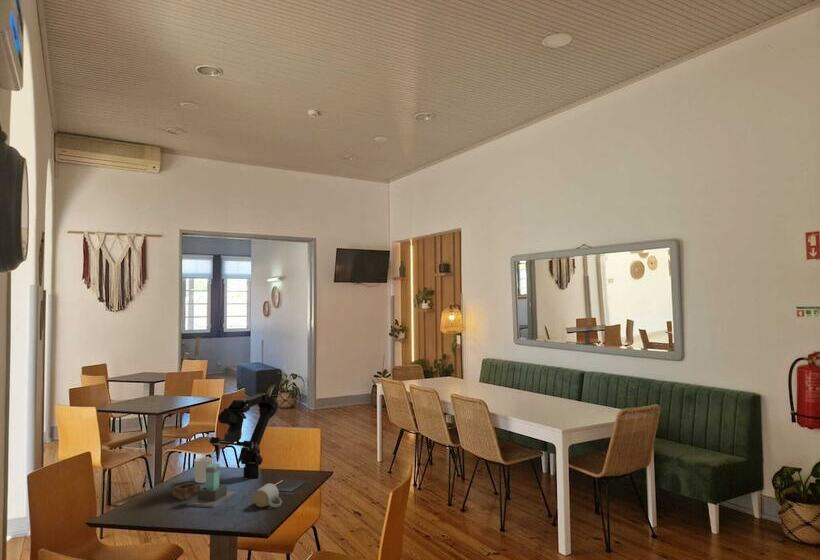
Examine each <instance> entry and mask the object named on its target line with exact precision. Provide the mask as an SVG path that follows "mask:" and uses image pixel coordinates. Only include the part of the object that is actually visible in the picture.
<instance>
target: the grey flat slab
mask: <svg viewBox="0 0 820 560" xmlns="http://www.w3.org/2000/svg"><path fill="white" fill-rule="evenodd" d="M309 482H310V481H309V480H300V479H288V478H287V479H286V478H284V479H281V480H280V481H279V482H277V483H275V484H274V485H275V486H276V487H277V489H278V491H279V494H294V493H293V492H294V491H296V490H297V489H299V488H300V487H302V486H303V485H305V484H307V483H309ZM294 495H295V494H294Z"/></svg>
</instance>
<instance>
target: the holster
mask: <svg viewBox="0 0 820 560" xmlns="http://www.w3.org/2000/svg"><path fill="white" fill-rule="evenodd" d="M172 489H173V490H172V497H174V498H177V499H180V500H182V501H183V500H186V499H190V498H193V497H196V496H197V497H198V490H199V489H201V485H200V484H198V483H195V482H187V483H184V484H180V485H175V486H173V488H172Z"/></svg>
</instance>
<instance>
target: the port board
mask: <svg viewBox="0 0 820 560" xmlns="http://www.w3.org/2000/svg"><path fill="white" fill-rule="evenodd" d="M236 495H237V490H236V491H233V490H228V486H227V484H220V483H219V488H217V489H216V490H206V485H205V486H203V487H202V488H201V487H200V489H199V490H198V495H197V497H196V498H194V499H192V500H190V501H188V502H186V507H195V508H198V507H199V508H209V509H210V508H211V509H213V508H216V507H217V506H219V505H221V504H222V503H225V502H226V501H227V500H229V499H231V498H232V497H234V496H236Z"/></svg>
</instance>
